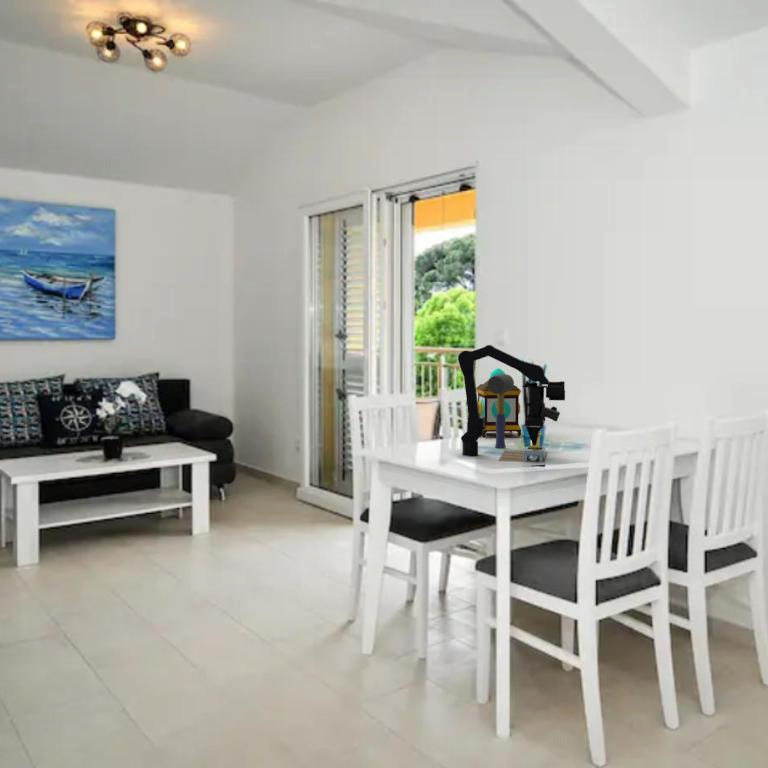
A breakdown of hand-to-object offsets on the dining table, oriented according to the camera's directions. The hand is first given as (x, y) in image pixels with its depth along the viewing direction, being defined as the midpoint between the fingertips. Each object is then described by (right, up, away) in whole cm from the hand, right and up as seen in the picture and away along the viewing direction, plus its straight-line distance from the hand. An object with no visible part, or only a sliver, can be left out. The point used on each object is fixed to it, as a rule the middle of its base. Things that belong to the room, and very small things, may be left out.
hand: (535, 443), depth 278 cm
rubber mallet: (-9, -5, +22) cm, 24 cm away
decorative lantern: (-4, -2, +68) cm, 68 cm away
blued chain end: (-1, -5, -4) cm, 6 cm away
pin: (0, -5, 0) cm, 5 cm away
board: (-4, -6, +1) cm, 8 cm away
